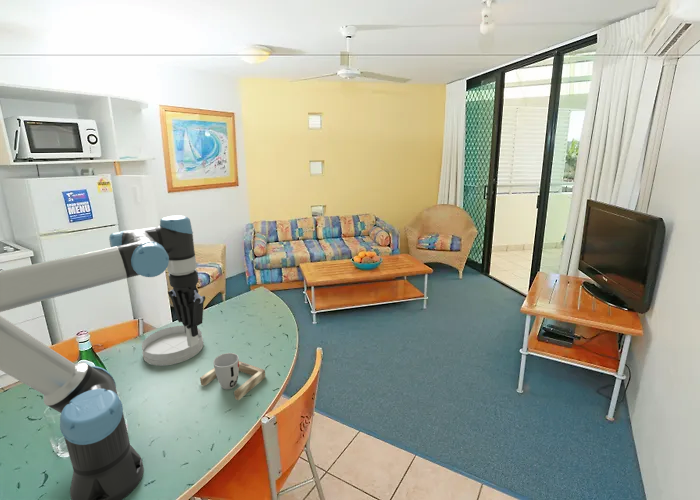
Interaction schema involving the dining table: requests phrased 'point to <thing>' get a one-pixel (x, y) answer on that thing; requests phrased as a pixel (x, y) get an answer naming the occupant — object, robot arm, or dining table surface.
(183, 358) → the dish
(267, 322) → the dining table surface
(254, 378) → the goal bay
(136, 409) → the dining table surface
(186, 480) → the dining table surface
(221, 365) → the cup
